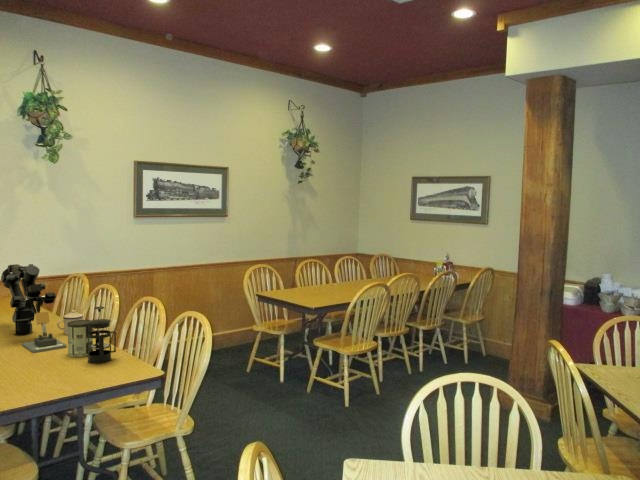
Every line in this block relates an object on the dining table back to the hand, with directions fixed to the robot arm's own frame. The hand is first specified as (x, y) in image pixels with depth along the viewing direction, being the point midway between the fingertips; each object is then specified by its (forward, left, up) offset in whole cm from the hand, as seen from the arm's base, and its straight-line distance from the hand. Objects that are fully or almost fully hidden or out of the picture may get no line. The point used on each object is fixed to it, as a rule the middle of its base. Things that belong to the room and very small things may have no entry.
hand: (37, 314), depth 250 cm
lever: (+7, -8, -9) cm, 14 cm away
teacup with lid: (+8, +17, -14) cm, 24 cm away
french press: (+38, -28, -14) cm, 49 cm away
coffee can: (+26, -18, -14) cm, 34 cm away
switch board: (+6, -7, -14) cm, 16 cm away
